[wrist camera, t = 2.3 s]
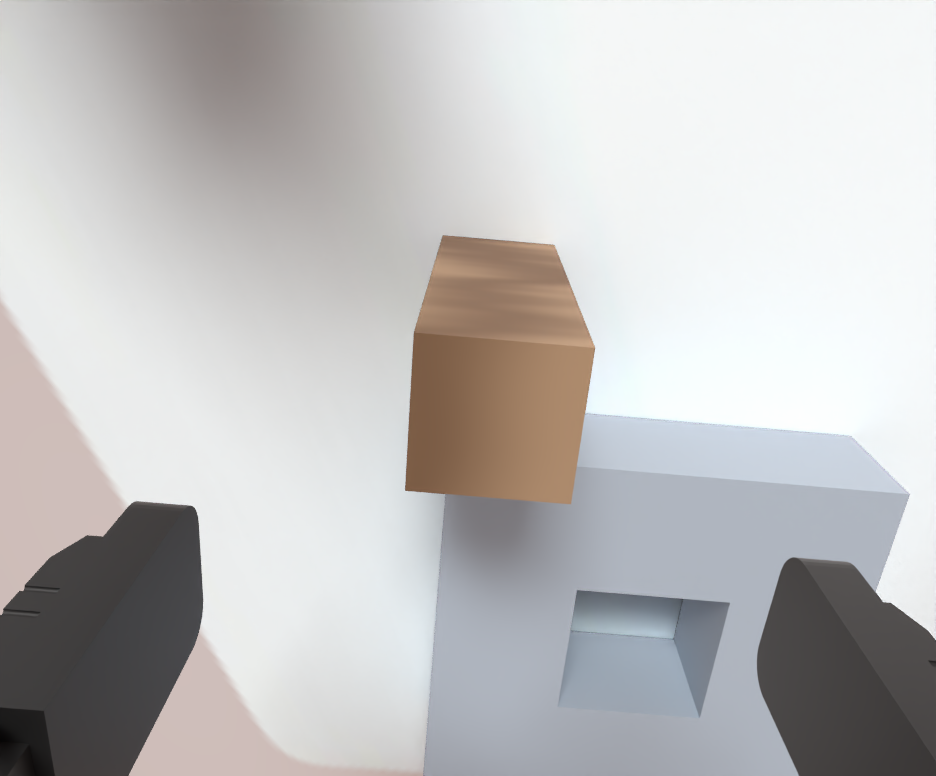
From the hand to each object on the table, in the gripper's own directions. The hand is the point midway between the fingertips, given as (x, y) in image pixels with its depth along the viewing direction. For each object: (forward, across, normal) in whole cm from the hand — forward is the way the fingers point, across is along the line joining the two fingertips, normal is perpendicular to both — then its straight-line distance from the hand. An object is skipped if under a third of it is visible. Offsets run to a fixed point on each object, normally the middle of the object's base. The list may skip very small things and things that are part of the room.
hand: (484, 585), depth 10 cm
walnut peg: (+16, 0, 0) cm, 16 cm away
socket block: (+15, -6, +11) cm, 20 cm away
